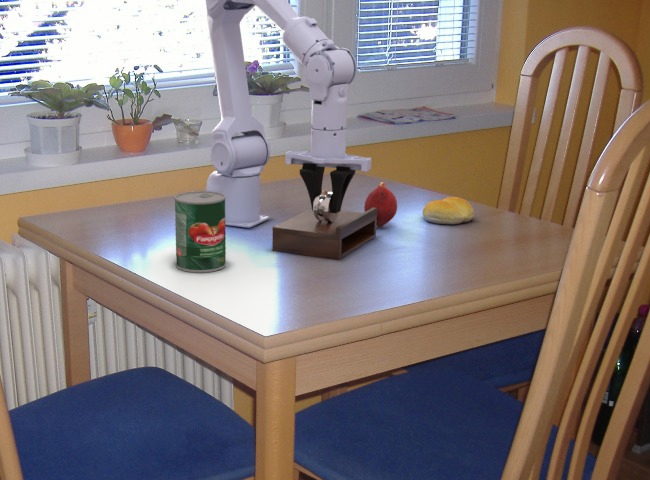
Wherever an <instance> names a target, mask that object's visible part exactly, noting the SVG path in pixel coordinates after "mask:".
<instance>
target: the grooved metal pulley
mask: <svg viewBox="0 0 650 480" xmlns="http://www.w3.org/2000/svg"><path fill="white" fill-rule="evenodd" d="M313 214H314V217H315V218H316V219H317V220H319V221H323V220H324V219H325V221H327V222H334V221H335V220H336V219H337V217H338V214H339V212H338V213H332V190H329V191H327V190H324V189H322V191H319V192H318V193H317V195H316V196H315V199H314V203H313Z"/></svg>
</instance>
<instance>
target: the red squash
mask: <svg viewBox="0 0 650 480" xmlns="http://www.w3.org/2000/svg"><path fill="white" fill-rule="evenodd" d="M386 186H387V184H386V183H385V182H384V181H381V182H379V183H378V186H377V187H376V188H375V189H373V190H372V191H371V192H370V193H368V195H367V197H366V199H365V201H364V207H363V208H364V212H366V211H367V210H369V209H371V208H373V207H375V208H377V223H376V228H382V227H384V226H385V225H386V224H388V223H389V222H390V221H391V220H392V219H394V218H395V216H396V214H397V211H398V202H397V201H398V200H397V198H396V196H395V194H394V193H393V192H392V191H391V190H390V189H388V188H387V187H386Z"/></svg>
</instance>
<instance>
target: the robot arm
mask: <svg viewBox="0 0 650 480" xmlns="http://www.w3.org/2000/svg"><path fill="white" fill-rule="evenodd" d="M205 6H206V21H207V28H208V34H209V40H210V48H211V49H210V50H211V55H212V62H213V70H214V76H215V83H216V91H217V97H218V105H219V112H220V118H221V120H220V122H219V123H217V125H216V126H215V127H214V128H213V130H212V131H211V132H210V136H211V148H210V160H211V164H212V166H213V167H214V169H215V170H214V171H213V172H211V173H210V174H209V176H208V178H207V181H206V185H205V186H206V187H205V191H212V192H218V193H222V194H224V195H225V196H226V198H225V218H226V219H225V223H226V224H225V226H231V227H237V228H246V229H247V228H248V229H250V228H253V227H255V226H257V225H259V224H261V223H264V222H265V221H268V220H269V219H270V216H268V215H261V173H264V167H265V166H266V165H267V164H268V163H269V161H270V157H271V146H270V143H269V140H268V138H267V136H266V133H265V129H264V125H263V124H262V123H261V122H260V121H259V120H258V119H257V118H255V117H254V116H253V113H252V106H251V99H250V91H249V83H248V77H247V69H246V62H245V54H244V47H243V39H242V32H241V21H242V20H243V19H244V17H245V16H246V15H247V14H248V13H250V11H251V10H253V9H254V8H255V7H257V8H258V9H259V10H260V12H262V14H264V15H265V16H266V17H267V18H268V19H269V20H270V21H271V22H272V23H273V24H274V25H275V26H276V27H277V28H278V29H279V30H280V31H281V32H282V43H283V46H285V47H286V48H287V49H288V51H290V53H291V54H292V55H293V56H294V58H296V60H297V61H298V62H299V63H300V64H301V65H302V67H303V68H304V69H303V73H304V78H305V81H306V83H307V85H308V89H309V90H308V91H309V92H308V95H309V96H310V99H311V117H310V118H311V119H310V120H311V122H310V124H311V125H310V151H301V150H299V151H298V150H289V151H286V152H285V154H284V155H285V156H284V157H285V158H284V159H285V163H284V164H285V165H288V166H289V165H299V166H302V167H301V168H300V169H299V175H300V177H301V179H302V181H303V183H304V185H305V188H306V189H307V193H308V196H309V201H310V205H311V208H312V211H313V203H314V199H315V196H316V195H317V193H318V192H319V191H322V190H323V181H324V175H325V169H326V168H330V169H331V168H332V169H334V170H332V171H331V170H330V172H329V176H330V181H331V183H330V184H331V191H332V213H338V212H340V211H342V205H343V202H344V199H345V195H346V193H347V190H348V187H349V185H350V183H351V181H352V179H353V178H354V176H355V175H356V172H357V171H360V172H364V173H368V172H370V171H372V160H373V159H372V157H366V156H361V155H360V156H359V155H355V154H347V153H346V150H347V129H348V127H347V125H348V104H349V103H348V102H349V100H348V99H349V85H350V84H351V83H353V81H354V80H355V78H356V74H357V71H358V70H357V69H358V68H357V67H358V66H357V61H356V59H355V56H354V55H353V54H352V51H351V50H350V49H349V48H345V47H339V46H338V45H335V42H334V41H333V40H332V39H329V37H328V36H327V35H326V34H325V33H324V32H323V31H322V30H321V28H319V26H318V24H319V23H318V21H317V20H316V19H315V18H314V17H311V18H310V17H309V16H299V14H297V12H296V11H295V9H294V8H293V7H292V5H291V4H290V3H289V2H288V0H205ZM236 134H241V135H236ZM234 135H235V136H234Z"/></svg>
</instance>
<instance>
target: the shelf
mask: <svg viewBox="0 0 650 480" xmlns="http://www.w3.org/2000/svg"><path fill="white" fill-rule="evenodd" d="M376 223H377V208H375V207H373V208H371V209H369V210H367V211H366V212H365V211H364V212H357V211H350V210H349V211H348V210H341V211H340V212H339V214H338V217H337V219H336V220H335V221H334V222H327V221H325V219H324V220H323V221H319V220H317V219H316V218H315V217H314V214H313V211H312V207H311V208H309V209H307V210H305V211H303V212H301V213H299V214H296V215H294V216H293V217H290V218H288V219H287V220H284V221H282V222H280V223H278V224H276V225H273V226H272V235H271V236H272V239H271V242H272V243H271V245H272V249H271V251H272V252H279V253H285V254H286V253H287V254H293V255H299V256H300V255H301V256H308V257H315V258H322V259H330V260H336V261H339V260H342V259H343V258H345V257H346V256H348V255H350V254H351V253H353V252H355V251H356V250H358V249H359V248H361V247H363V246H364V245H366V244H368V243H369V242H371V241H372V240H374V239H375V238H376V237H377V226H376Z"/></svg>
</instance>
